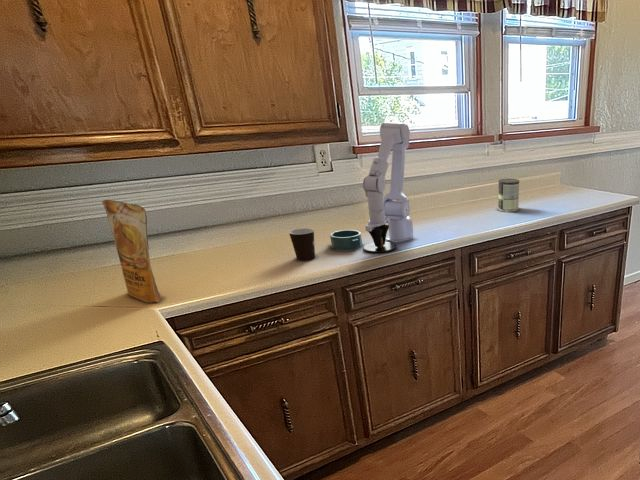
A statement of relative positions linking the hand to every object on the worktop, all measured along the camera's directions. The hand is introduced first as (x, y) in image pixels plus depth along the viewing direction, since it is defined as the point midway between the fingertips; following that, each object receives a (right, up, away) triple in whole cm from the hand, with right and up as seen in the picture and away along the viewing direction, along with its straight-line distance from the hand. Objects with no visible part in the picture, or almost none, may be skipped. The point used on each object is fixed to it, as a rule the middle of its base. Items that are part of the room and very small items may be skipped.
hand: (380, 245), depth 199 cm
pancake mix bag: (-63, -25, -40) cm, 79 cm away
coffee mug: (-26, -6, -6) cm, 27 cm away
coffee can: (+53, +32, +62) cm, 87 cm away
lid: (0, -1, 0) cm, 1 cm away
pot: (-14, 0, +5) cm, 15 cm away
